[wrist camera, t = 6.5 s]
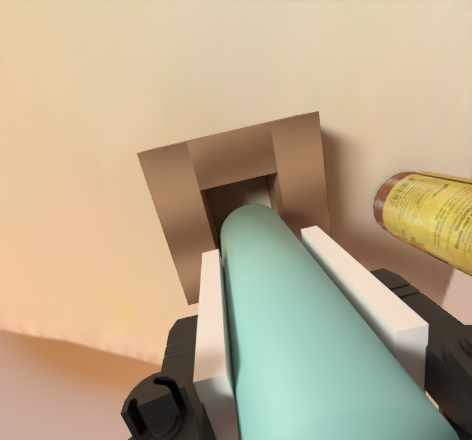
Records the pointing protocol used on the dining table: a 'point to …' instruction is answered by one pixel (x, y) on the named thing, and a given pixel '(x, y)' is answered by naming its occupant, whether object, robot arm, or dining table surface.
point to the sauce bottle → (429, 214)
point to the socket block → (233, 170)
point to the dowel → (308, 347)
